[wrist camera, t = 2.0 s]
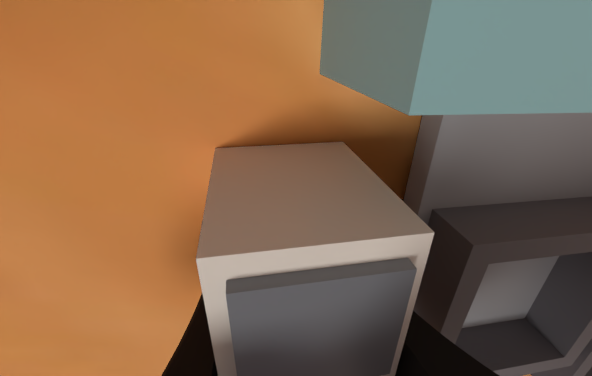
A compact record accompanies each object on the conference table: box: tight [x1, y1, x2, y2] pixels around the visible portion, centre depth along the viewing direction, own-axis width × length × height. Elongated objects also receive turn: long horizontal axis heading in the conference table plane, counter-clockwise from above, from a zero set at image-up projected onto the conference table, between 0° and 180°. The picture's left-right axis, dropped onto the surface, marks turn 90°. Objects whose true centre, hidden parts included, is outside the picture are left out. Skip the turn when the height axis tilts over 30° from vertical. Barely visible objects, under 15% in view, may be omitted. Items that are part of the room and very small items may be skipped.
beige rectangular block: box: [196, 142, 435, 376], centre depth 9 cm, size 10×4×5 cm, turn 179°
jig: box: [403, 113, 592, 376], centre depth 13 cm, size 15×17×3 cm
